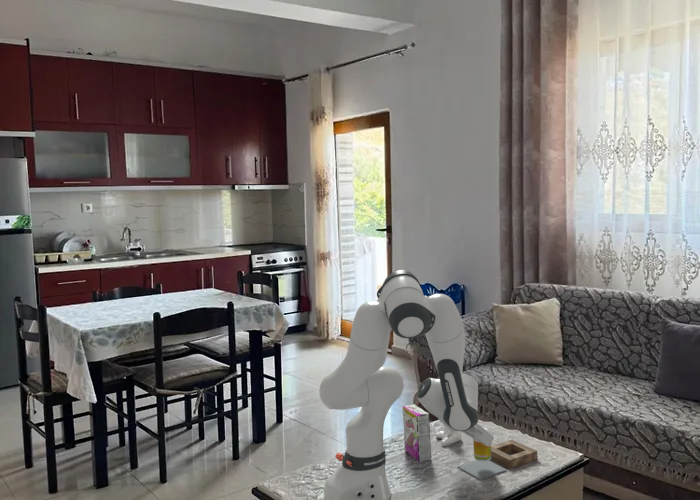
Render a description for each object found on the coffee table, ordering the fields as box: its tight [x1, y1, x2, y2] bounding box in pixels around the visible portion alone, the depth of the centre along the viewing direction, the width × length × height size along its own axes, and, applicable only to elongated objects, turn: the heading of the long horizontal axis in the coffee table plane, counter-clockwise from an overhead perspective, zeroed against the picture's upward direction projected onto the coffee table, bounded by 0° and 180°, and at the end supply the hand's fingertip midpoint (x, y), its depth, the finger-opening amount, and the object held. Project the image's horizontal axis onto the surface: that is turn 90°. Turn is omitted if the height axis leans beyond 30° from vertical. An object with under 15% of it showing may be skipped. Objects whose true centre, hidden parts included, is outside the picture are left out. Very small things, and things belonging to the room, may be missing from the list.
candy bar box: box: [402, 403, 432, 463], centre depth 227 cm, size 11×5×16 cm, turn 22°
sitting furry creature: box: [435, 424, 463, 447], centre depth 239 cm, size 10×9×12 cm
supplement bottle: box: [472, 426, 492, 462], centre depth 213 cm, size 5×5×10 cm
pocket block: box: [490, 439, 539, 470], centre depth 222 cm, size 12×12×3 cm
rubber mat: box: [457, 459, 508, 481], centre depth 215 cm, size 11×11×1 cm
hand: (483, 440), depth 213 cm, fingers closed on supplement bottle, 5 cm apart
